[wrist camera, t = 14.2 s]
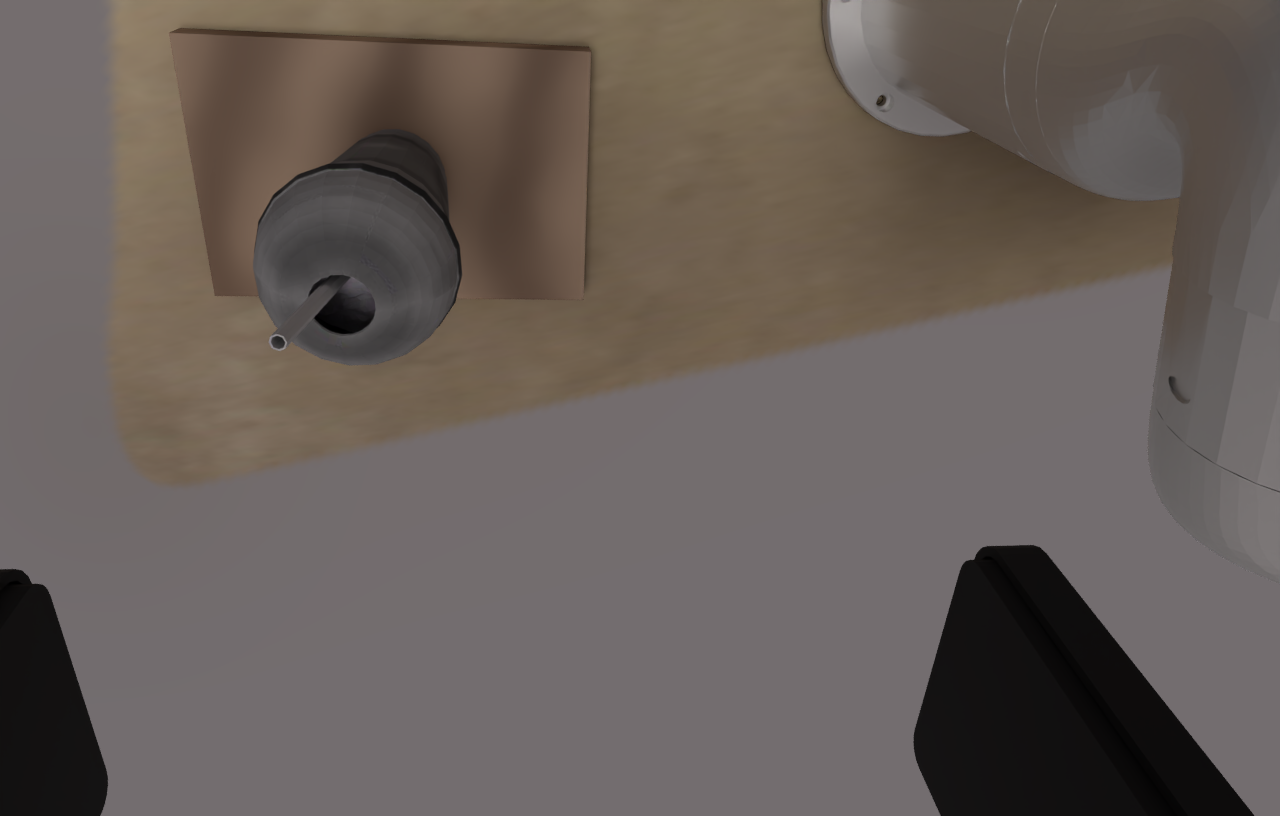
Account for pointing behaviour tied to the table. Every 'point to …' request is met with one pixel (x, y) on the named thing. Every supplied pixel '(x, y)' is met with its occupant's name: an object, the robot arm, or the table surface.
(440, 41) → the serving board
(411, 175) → the beverage cup
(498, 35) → the table surface
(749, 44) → the table surface
